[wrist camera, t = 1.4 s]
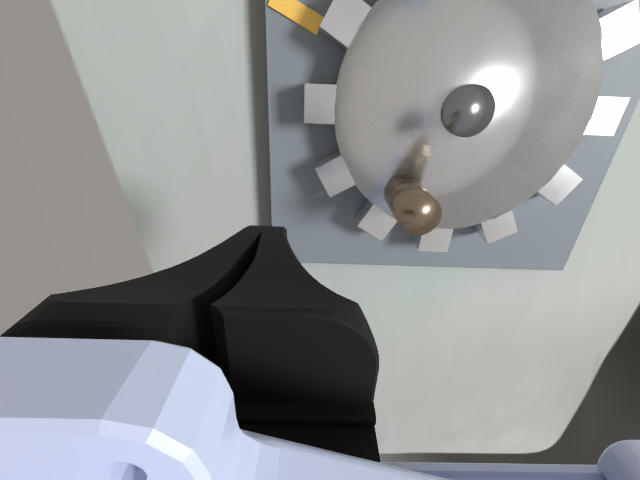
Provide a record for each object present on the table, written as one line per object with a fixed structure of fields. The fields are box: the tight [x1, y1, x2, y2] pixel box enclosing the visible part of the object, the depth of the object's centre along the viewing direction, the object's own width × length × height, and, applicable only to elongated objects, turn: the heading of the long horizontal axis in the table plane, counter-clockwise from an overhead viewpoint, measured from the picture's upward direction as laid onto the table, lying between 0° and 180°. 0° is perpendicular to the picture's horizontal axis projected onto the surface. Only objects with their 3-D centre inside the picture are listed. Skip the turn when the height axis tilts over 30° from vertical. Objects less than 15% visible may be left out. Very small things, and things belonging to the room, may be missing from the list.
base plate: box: [265, 0, 640, 270], centre depth 18 cm, size 20×20×1 cm
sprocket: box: [304, 0, 640, 252], centre depth 15 cm, size 16×16×5 cm
